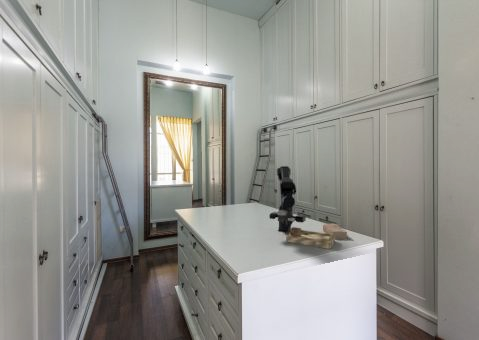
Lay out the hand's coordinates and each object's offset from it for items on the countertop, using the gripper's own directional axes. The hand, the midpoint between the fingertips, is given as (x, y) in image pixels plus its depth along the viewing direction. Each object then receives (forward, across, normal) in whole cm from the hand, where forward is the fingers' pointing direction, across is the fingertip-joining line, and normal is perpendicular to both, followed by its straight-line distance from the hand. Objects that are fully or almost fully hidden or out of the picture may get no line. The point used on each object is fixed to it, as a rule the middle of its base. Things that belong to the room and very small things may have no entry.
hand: (287, 232), depth 126 cm
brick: (+4, +20, +22) cm, 31 cm away
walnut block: (+1, +5, 0) cm, 5 cm away
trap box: (+4, +12, +3) cm, 13 cm away
